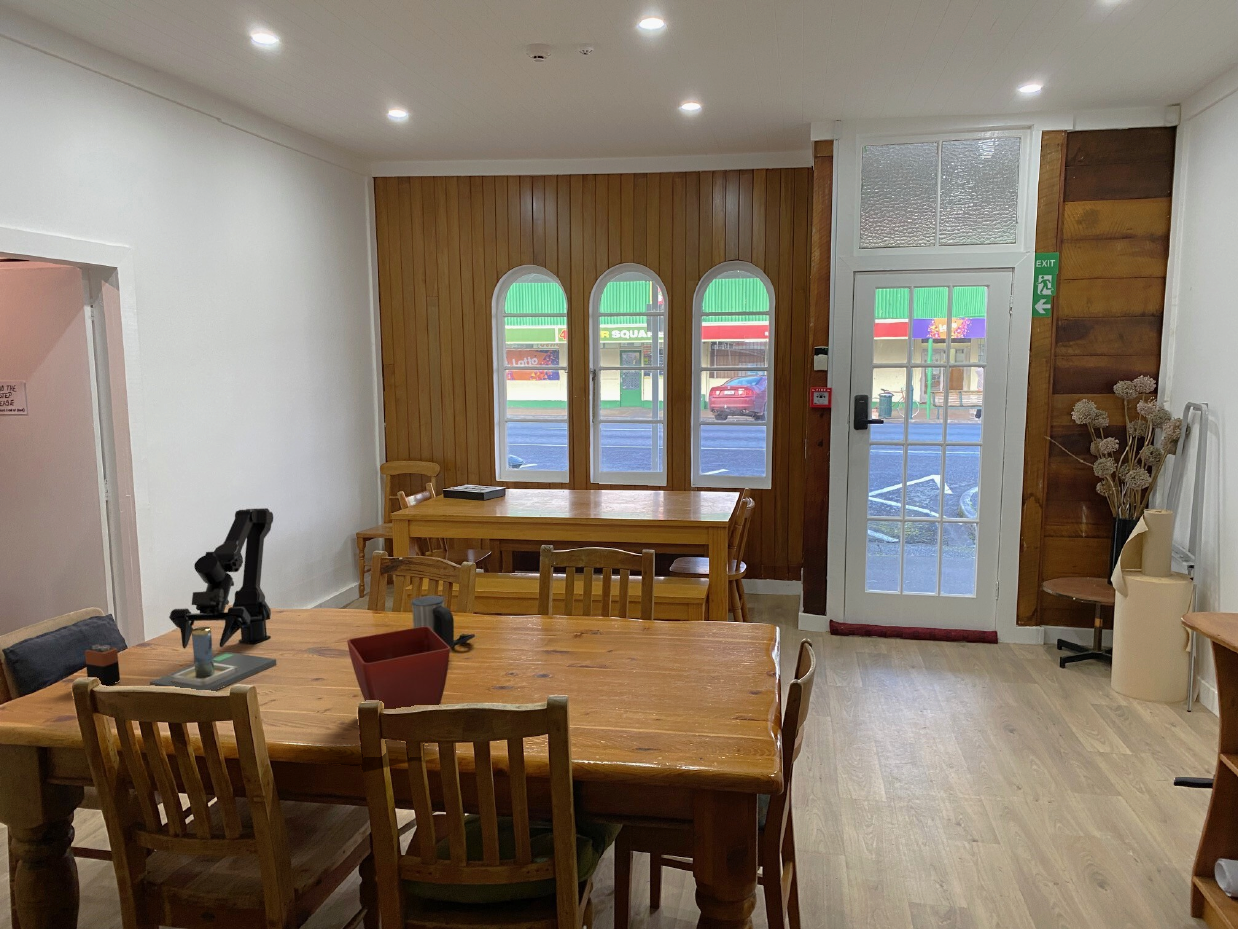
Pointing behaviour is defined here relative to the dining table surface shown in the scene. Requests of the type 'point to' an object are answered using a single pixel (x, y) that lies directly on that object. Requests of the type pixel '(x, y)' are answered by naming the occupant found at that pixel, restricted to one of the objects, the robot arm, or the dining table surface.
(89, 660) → the battery
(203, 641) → the cell
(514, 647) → the dining table surface
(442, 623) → the milk frother
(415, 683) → the plant pot
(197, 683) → the tester board
